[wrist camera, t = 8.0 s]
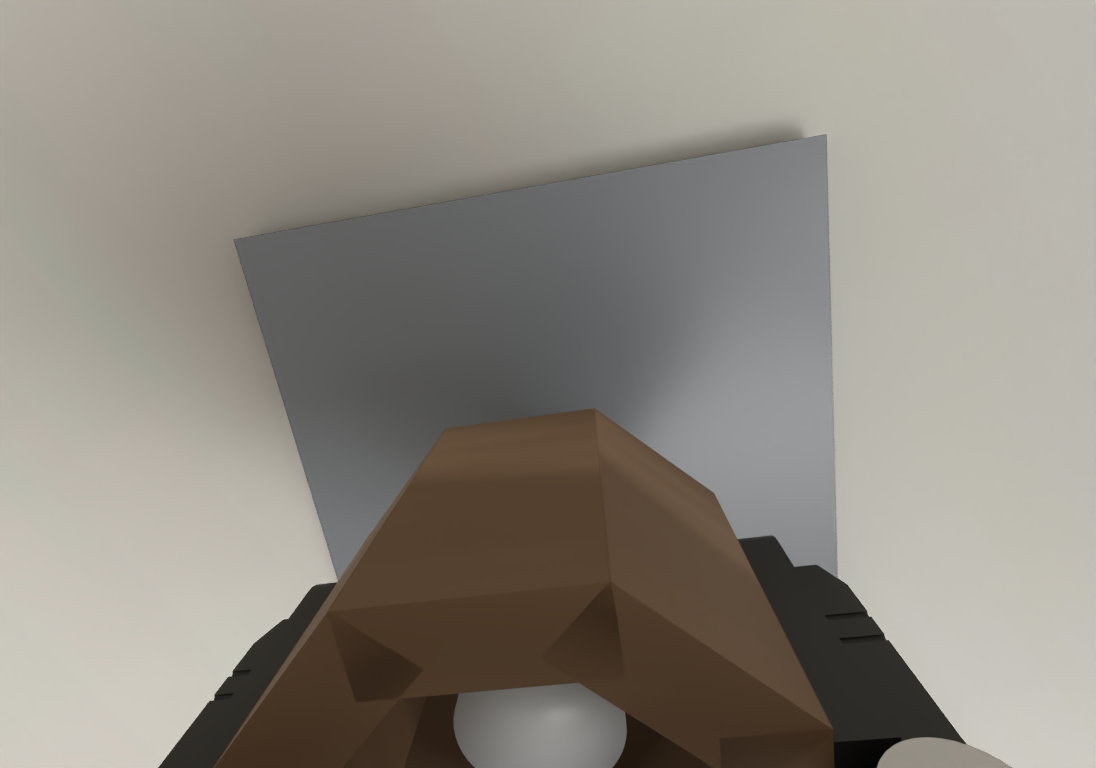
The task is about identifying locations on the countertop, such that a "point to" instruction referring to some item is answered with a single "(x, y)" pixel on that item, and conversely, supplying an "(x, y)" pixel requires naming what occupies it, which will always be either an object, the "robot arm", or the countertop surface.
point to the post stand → (569, 361)
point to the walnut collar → (543, 613)
